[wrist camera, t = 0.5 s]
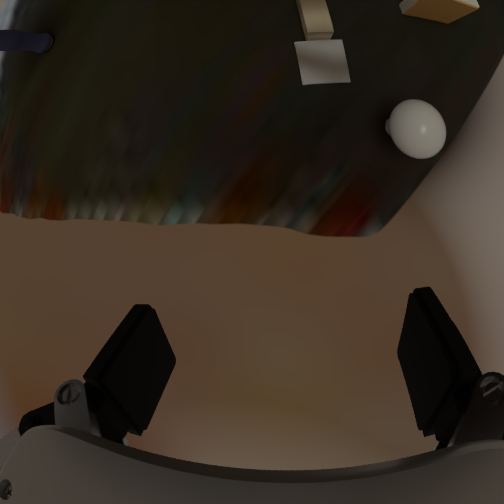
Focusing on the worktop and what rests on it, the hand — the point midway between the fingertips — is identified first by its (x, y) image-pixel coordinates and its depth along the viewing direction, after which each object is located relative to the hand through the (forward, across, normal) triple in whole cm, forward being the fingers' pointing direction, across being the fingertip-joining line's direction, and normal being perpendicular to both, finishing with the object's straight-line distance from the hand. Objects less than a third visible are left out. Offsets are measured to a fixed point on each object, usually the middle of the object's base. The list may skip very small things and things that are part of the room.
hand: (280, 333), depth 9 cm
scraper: (+28, -6, -20) cm, 35 cm away
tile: (+28, -23, -24) cm, 44 cm away
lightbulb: (+28, -14, -6) cm, 32 cm away
